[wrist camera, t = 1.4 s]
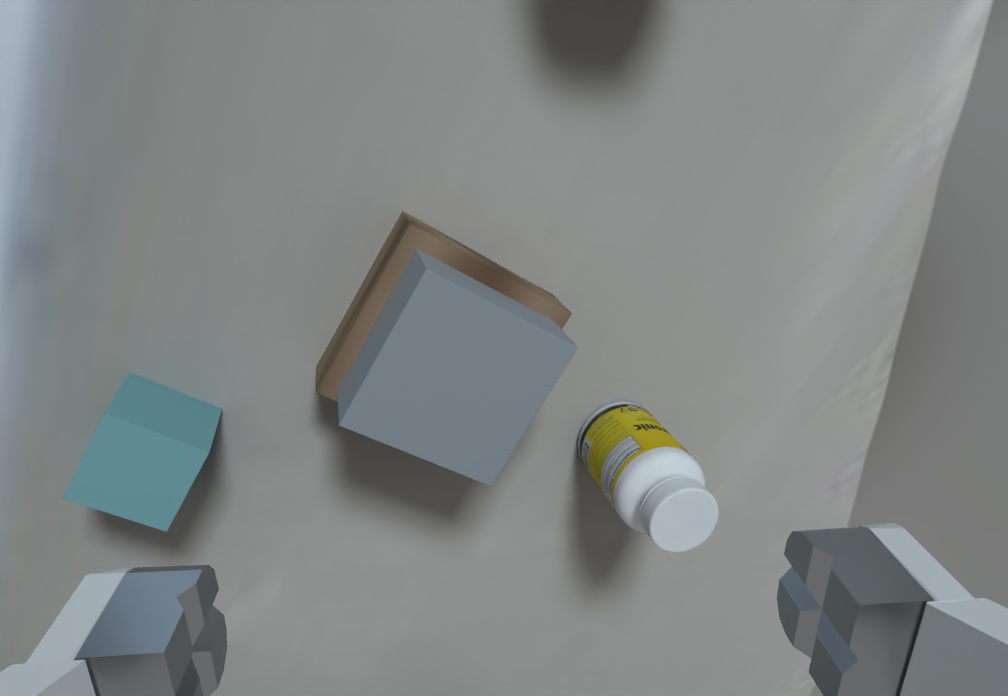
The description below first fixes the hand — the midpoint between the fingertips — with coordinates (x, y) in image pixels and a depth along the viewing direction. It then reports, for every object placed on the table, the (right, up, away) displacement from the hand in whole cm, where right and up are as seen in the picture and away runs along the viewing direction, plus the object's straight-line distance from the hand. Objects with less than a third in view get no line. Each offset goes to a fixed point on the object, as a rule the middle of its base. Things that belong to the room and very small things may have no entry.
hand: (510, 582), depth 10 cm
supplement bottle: (+7, -2, +36) cm, 37 cm away
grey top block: (-3, +3, +27) cm, 28 cm away
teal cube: (-19, -1, +29) cm, 35 cm away
